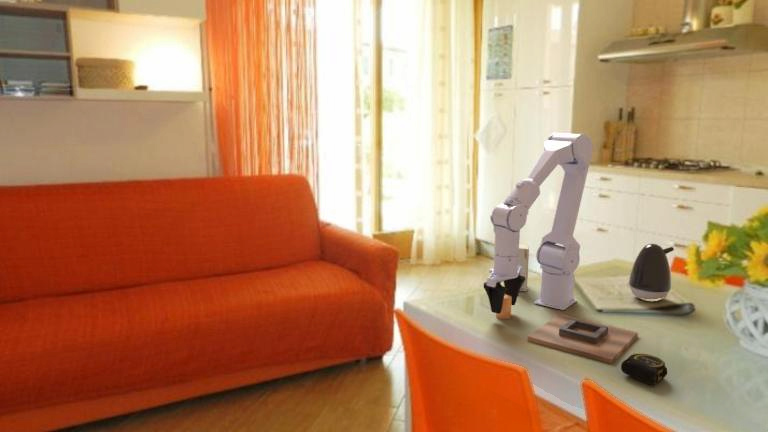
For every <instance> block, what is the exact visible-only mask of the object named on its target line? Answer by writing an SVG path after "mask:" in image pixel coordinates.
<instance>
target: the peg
mask: <svg viewBox="0 0 768 432" xmlns="http://www.w3.org/2000/svg"><path fill="white" fill-rule="evenodd" d="M511 304H512V297H511V296H509V295H505V296H504V299H503V304H502V310H501V313H500V314H498V313H495V317H496V318H497V319H500V320H509V319H511V318H512V305H511Z"/></svg>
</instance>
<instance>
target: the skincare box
mask: <svg viewBox="0 0 768 432" xmlns="http://www.w3.org/2000/svg"><path fill="white" fill-rule="evenodd" d="M529 253H530V247H529V245H528V244H525V243H519V256H518V266H522V274H521V275H520V276H524V277H525V281H524V283H523V284H522V286H521V288H520V291H519V292H527V291H528V278H529V277H528V275H529V261H530V260H529V259H530V258H529V257H530V256H529V255H530V254H529Z"/></svg>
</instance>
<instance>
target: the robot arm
mask: <svg viewBox="0 0 768 432" xmlns="http://www.w3.org/2000/svg"><path fill="white" fill-rule="evenodd" d="M594 147H595V146H594V144H593V141H592V140H591V137H590V136H589V135H588V134H586V133H569V132H568V133H566V132H557V131H555V132H552V133H551V134H550V135H548V138H547V140H546V141H544V143H543V153H542V154H541V156H540V158H539V159H538V160H537V162H536V164H535V165H534V167H533V169H532V170H531V172H530V173H529V175H528V177H527V178H526V179H520V180H519V181H517V182H516V184H515V187H514V188H513V189H512V191H511V192H510V193H509V194H508V196H507V198H506V199H504V202H503V203H500V204H498V205H497V206H495V207H494V209H493V210H492V213H491V215H490V222H491V224H492V226H493V232H494V233H493V234H494V248H493V249H494V253H493V267H492V268H490V269H488V272H489V273H490V274H489V276H488V277H487V278H486V281H485V282H484V283H483V289H484V290H485V292H486V294H487V295H486V296H487V297H488V301H489V305H490V311H491V312H492V313H495V314H496V313H498V314H500V313H501V310H502V304H503V299H504V296H505V295H509V296H511V297H512V304H511V306H515V305H516V302H517V300H518V296H519V293H520V292H521V291H520V288H521V286H522V284H523V283H524V281H525V277H524V276H520V275H521V274H522V266H518V256H519V244H520V236H521V235H520V233H521V230H522V229H523V228H524V227H525V226H526V223H527V220H528V219H527V218H528V215H529V210H530V209H531V207H532V206H533V204H534V203H535V201H536V200H537V199H538V198H539V196H540V194H541V189H540V187H541V185H542V184H543V183H544V181H546V180H547V178H548V177H549V176H550V175H551V173H552V172H554V170H555V169H556V168H557V167H558V166H560V167H561V168H562V169H563V171H564V174H563V178H562V183H561V189H560V191H559V196H558V201H557V205H556V210H555V214H554V217H553V218H554V219H553V223H552V228H551V231H550V232H549V233H547V234H545V235H544V236H543V237H542V239H541V242H540V244H539V245H538V248H537V249H536V253H535V255H536V256H535V257H536V261H537V264H539V265H540V267H539V268H540V269H541V271H542V272H541V284H540V285H541V288H540V297H539V298H538V299H536V300H535V301H534V303H533V304H536V305H540V306H542V307H543V306H544V307H549V308H552V309H556V310H561V311H564V310H566V309H568V308H570V307H571V305H573V304H575V303H576V302H577V301H578V299H577V298H574V295H575V282H576V276H575V271H576V270H577V268H578V267H579V265H580V261H581V260H580V250H581V244H580V243H579V242H578V240H577V239H576V238H575V237H574V233H575V229H576V224H577V220H578V216H579V211H580V208H581V207H580V206H581V202H582V198H583V193H584V189H585V186H586V185H585V184H586V180H587V177H588V172H589V167H590V164H591V159H592V155H593V151H594ZM558 244H559V245H558ZM502 282H503V285H502V284H501V283H502Z"/></svg>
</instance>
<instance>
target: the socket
mask: <svg viewBox="0 0 768 432" xmlns="http://www.w3.org/2000/svg"><path fill="white" fill-rule="evenodd" d="M638 336H639V332H638V331H634V330H630V329H625V328H623V327H622V328H621V327H618V326H614V325H609V324H604V323H601V322H597V321H592V320H587V319H583V318H579V317H575V316H571V315H566V314H563V313H559V314H557V315H556V316H554V317H553V318H552V319H550V320H549V321H547V322H546V323H545V324H542V326H540V327H539V328H538V329H536V330H535V331H533V332H532V333H529V335H527V339H526V340H527V342H531V343H535V344H537V345H542V346H547V347H549V348H552V349H557V350H560V351H563V352H566V353H570V354H574V355H578V356H582V357H584V358H588V359H593V360H597V361H599V362H603V363H607V364H611V365H612V364H613V363H615V361H616V360H617V359H618V358H619V357H620V356H621V355H622V354H623V353H624V352H625V351H626V349H628V348H629V346H630V345H631V344H632V343H633V342H634V341H635V340H636V339H637V337H638Z"/></svg>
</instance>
